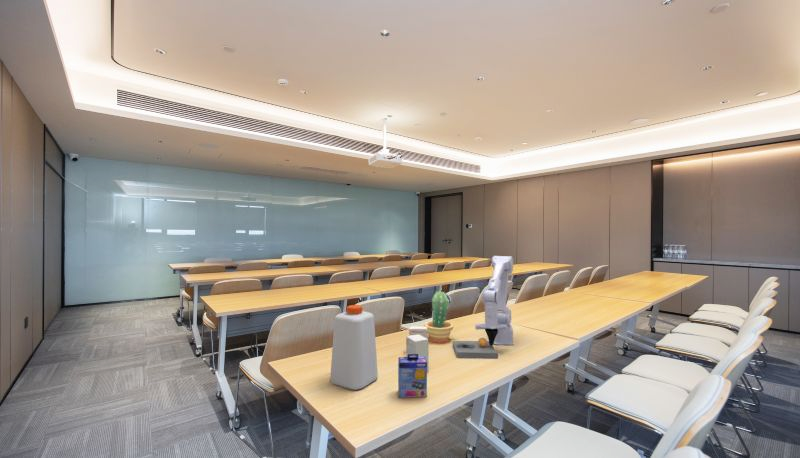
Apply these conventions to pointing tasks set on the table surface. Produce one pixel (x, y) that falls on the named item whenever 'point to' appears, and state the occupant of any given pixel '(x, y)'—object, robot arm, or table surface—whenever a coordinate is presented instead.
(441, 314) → the potted cactus
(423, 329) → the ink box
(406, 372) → the ink cartridge box
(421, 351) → the small box
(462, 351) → the hole board
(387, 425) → the table surface
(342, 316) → the plastic bottle
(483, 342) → the ball
